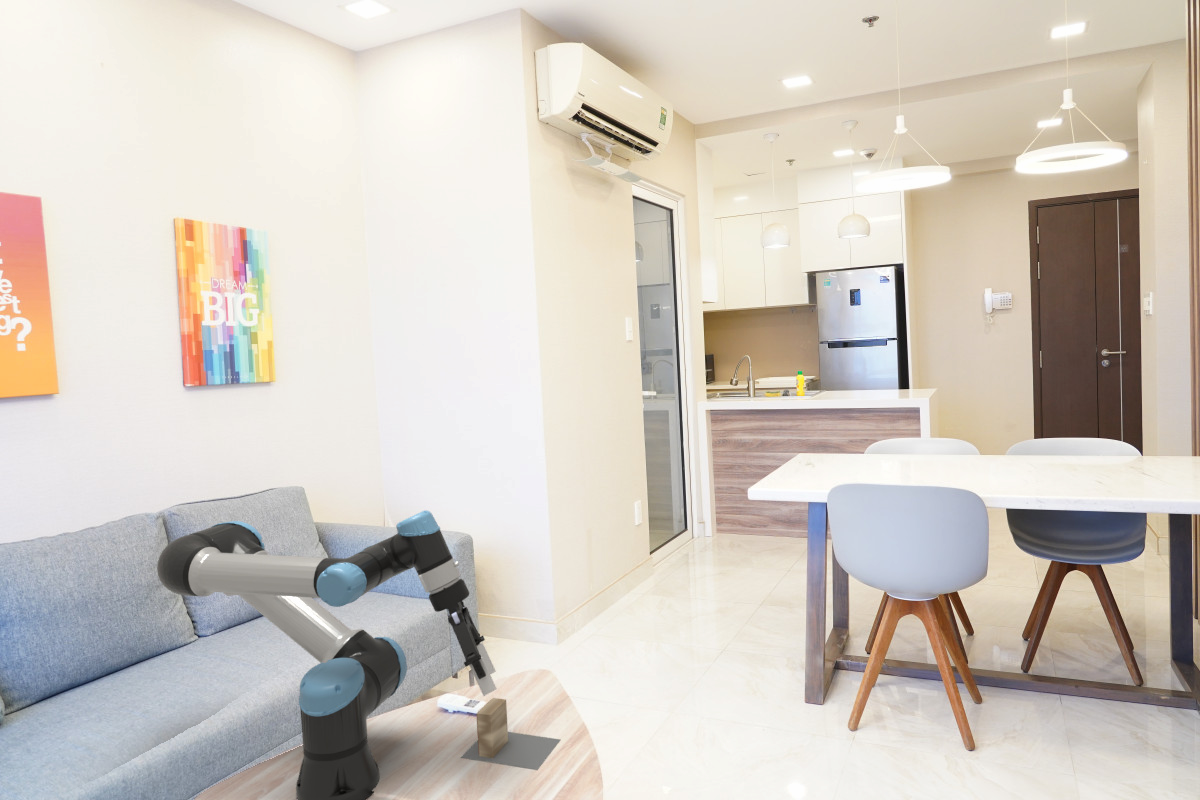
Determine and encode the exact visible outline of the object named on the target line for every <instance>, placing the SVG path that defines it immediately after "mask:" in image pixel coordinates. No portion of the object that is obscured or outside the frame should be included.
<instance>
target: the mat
mask: <svg viewBox="0 0 1200 800" xmlns="http://www.w3.org/2000/svg"><path fill="white" fill-rule="evenodd" d="M560 741H561V739H559V738H552V737H546V736H540V735H539V736H538V735H533V734H525V733H520V732H519V733H518V732H511V731H508V742H507V743H506V744H505V745H504V746H503V747H502V748H501V750H500V751H499V752H498V753H497V754H496V755H495V756H494V757H493V758H488V757H482V756H479V753H478V739H477V740H476V741H475V742H474V743H473V744H472V745H471V746H470V747H469V748H468V749H467V750H466V751H465V752H464V753H463V754H462V756H460V759H466V760H472V761H477V762H484V763H491V764H497V765H503V766H509V767H516V768H522V769H529V770H532V771H533V770H534V771H538V770H539V769H540V767H541V766H542V765H543V764H544V762H545V761H546V760H547V758H548V757H549V756H550V755H551V753H552V752H553V751H554V750H555V748H556V747H557V745H558V744H559V743H560Z"/></svg>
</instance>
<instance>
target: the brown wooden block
mask: <svg viewBox="0 0 1200 800" xmlns="http://www.w3.org/2000/svg"><path fill="white" fill-rule="evenodd" d="M475 716H476V731H477V733H476V734H477V740H478V753H479V756H482V757H488V758H493V757H494V756H495V755H496V754H497V753H498V752H499V751H500V750H501V748H502V747H503V746H504V745H505V744H506V743H507V742H508V732H509V730H508V729H509V728H508V727H509V726H508V709H507V699H506V698H497V697H492V698H490V700H489V701H488V702H487V703H486V704H484V706H483V707H481V709H479V710H478V712H476V715H475Z"/></svg>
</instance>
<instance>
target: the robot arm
mask: <svg viewBox="0 0 1200 800" xmlns="http://www.w3.org/2000/svg"><path fill="white" fill-rule="evenodd" d="M396 531H397V532H396V534H394V535H393V536H391V537H388V538H386V539H384V540H381V541H378V542H376V543H375V544H373V545H369V546H367V547H366V548H363V549H362V550H360V551H358V552H357V553H355V554H353V555H350V556H349V557H347V558H341V557H340V558H338V557H337V558H336V557H321V556H320V557H319V556H318V557H317V556H316V557H315V556H299V555H280V554H279V555H277V554H269V552H268V551H267V550H266V549H265V548H266V547H265V546H266V545H265V542H263V541H262V540H263V536H262V534H261V533H260V532H259V531H258V530H257V528H255V527H254V526H253V525H251V524H250V523H247V522H244V521H240V520H231V521H225V522H220V523H217V524H214V525H212V526H210V527H209V528H206V529H202V530H199V531H195V532H193V533H189V534H186V535H184V536H180V537H177V538H176V539H174V540H172V541H171V542H169V544H167V545H166V546H165V547H164V548H163V550H162V551H161V553H160V555H159V556H158V560H157V563H156V564H157V565H156V566H157V568H156V570H157V571H156V572H157V577H158V578H159V581H160V582H161V585H163V586H164V587H165V588H166V589H167V590H168V591H170V592H172V593H174V594H177V595H181V596H189V597H200V598H201V597H203V598H205V597H209V596H211V595H213V594H214V593H223V594H224V595H225V596H227V597H231V596H239V597H240V598H242V599H243V601H244V602H246V603H248V604H249V605H250V606H251V607H252V608H253V609H254V610H256V611H257V612H258V613H260V614H261V615H262V616H263V617H264V618H266V619H267V620H268V621H269V622H271V623H272V625H274V626H276V627H277V628H278V629H279V630H280V631H281V632H283V634H285V635H286V636H287V637H289V638H290V639H291V640H292V641H293V642H294V643H296V644H297V645H298V646H300V647H301V648H302V649H303V650H305V652H307V653H308V654H309V655H310V656H311V657H313V658H314V659H315V660H316V661H318V662H319V663H318V664H317V665H315V666H313V667H312V668H310V669H309V670H308V671H306V673H305V674H303V677H302V678H301V680H300V683H299V695H298V703H299V708H300V721H301V732H302V734H301V737H302V748H303V759H302V762H301V765H300V769H299V772H298V773H299V774H298V778H297V779H296V780H297V781H296V784H295V785H296V786H295V792H296V793H295V794H296V795H295V796H296V800H297V799H298V800H366V799H367V798H368V797H370V796H371V795H373V793H374V792H375V791H374V789H375V788H376V787H377V786H378V784H379V783H380V782H379V781H380V768H379V765H378V763H377V761H376V760H375V759H374V756H373V753H372V749H371V748H370V745H369V741H368V740H369V738H368V727H367V726H368V724H367V723H368V722H367V718H368V716H370V714H372V713H373V712H374V711H375V710H376V709H377V708H379V706H380V705H382V704H383V703H384V702H385V701H386V700H387V699H389V698H390V697H391V696H393V695H394V694H395V693H396V691H397V689H399V688H400V686H402V684H403V683H404V681H405V679H406V675H407V671H408V665H407V657H406V653H405V651H404V650H403V648H402V647H401V645H400V644H399V643H398V642H396V641H395V640H394V639H393V638H391V637H388V636H375V637H374V636H372V635H370V634H369V632H367V631H366V630H364V629H363V628H358V629H350V628H349V627H348V626H347V625H346V624H344V623H343V622H342V621H341V620H339V619H338V618H337V617H336V616H335V615H333V614H332V613H331V612H330V611H328V610H327V609H326V608H325V607H324V606H322V605H321V604H320V603H319V602H317V601H316V600H315V599H320V600H321V601H322V602H324V603H326V604H327V605H329V606H331V607H334V608H335V607H336V608H338V607H339V608H340V607H344V606H346V605H348V604H352V603H353V602H355V601H357V600H358V599H360V598H361V597H362V596H364V595H365V594H367V593H368V592H370V591H371V590H373V589H376V588H377V587H378V586H380V585H382V584H383V583H385V582H386V581H388V580H390V579H392V578H394V577H395V576H397V575H400V574H402V573H404V572H406V571H408V570H411V569H413V568H414V569H415V571H416V573H417V576H418V579H419V581H420V583H421V585H422V587H423V590H424V591H425V593H428V594H429V595H428V599H429V602H430V603H431V605H432V608H433V610H434V612H437V613H438V612H442V611H445V610H447V611H448V613H449V615H447V620H448V623H449V624H450V625H451V627H452V630H453V632H454V634H455V636H456V639H457V642H458V644H459V647H460V649H461V652H462V655H463V656H464V659H465V661H464V662H463V664H464V666H465V667H468V666H469V668H470V671H471V672H472V675H473V676H474V679H475V681H476V683H477V685H478V686H479V687H478V688H479V689H480V692H481V693H482V695H483V697H485V696H486V695H489V694H491V693H492V692H494V691H496V690H497V686H496V684H495V682H494V679H493V678H492V674H494V673H495V672H496V671H497V670H496V669H495V667H494V664H493V662H492V660H491V657H490V655H489V653H488V651H487V649H486V646H485V645H484V643H483V642H485V640H486V639H485V637H484V635H481V634H480V633H479V630H477V627H476V626H475V624H474V621H473V619H472V616H471V615H470V614H471V613H470V611H469V609H468V607H467V606H465V604H464V603H465V602H464V601H465V600H466V599H467V598H468V597H470V596H469V595H470V591H469V588H468V587H467V584H466V582H465V580H464V579H463V578H460V576H461V572H460V570H459V568H458V566H460V562H459V561H455V559H454V557H453V555H452V553H451V551H450V549H449V547H448V544H447V542H446V540H445V538H444V536H443V533H442V530H441V527H440V526H439V524H438V522H437V521H436V519H435V517H434V516H433V513H432V512H431V511H429V510H426V509H425V510H422V511H420V512H418V513H416V514H414V515H412V516H410V517H408V518H406V519H403V520H402V521H399V522H397V523H396ZM454 561H455V562H454Z"/></svg>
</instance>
